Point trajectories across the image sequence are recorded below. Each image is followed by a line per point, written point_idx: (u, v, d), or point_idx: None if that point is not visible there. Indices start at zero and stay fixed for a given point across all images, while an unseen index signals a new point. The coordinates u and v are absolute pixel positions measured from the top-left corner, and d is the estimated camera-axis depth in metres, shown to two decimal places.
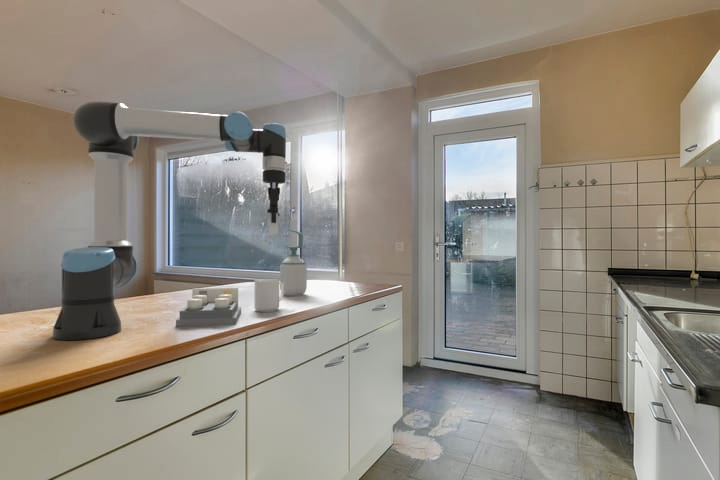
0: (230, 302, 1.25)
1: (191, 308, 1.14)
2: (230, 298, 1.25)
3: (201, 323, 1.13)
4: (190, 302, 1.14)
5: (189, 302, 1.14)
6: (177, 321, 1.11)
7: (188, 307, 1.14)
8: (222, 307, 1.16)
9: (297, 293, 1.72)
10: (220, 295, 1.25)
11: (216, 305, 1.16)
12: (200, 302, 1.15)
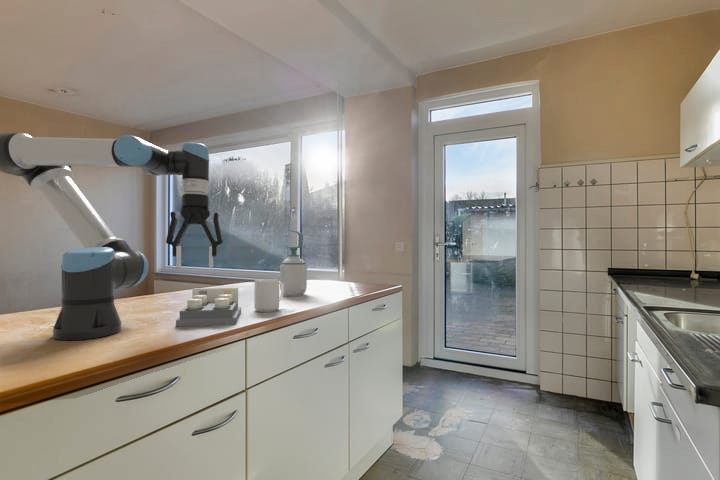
0: (230, 302, 1.25)
1: (191, 308, 1.14)
2: (230, 298, 1.25)
3: (201, 323, 1.13)
4: (190, 302, 1.14)
5: (189, 302, 1.14)
6: (177, 321, 1.11)
7: (188, 307, 1.14)
8: (222, 307, 1.16)
9: (297, 293, 1.72)
10: (220, 295, 1.25)
11: (216, 305, 1.16)
12: (200, 302, 1.15)
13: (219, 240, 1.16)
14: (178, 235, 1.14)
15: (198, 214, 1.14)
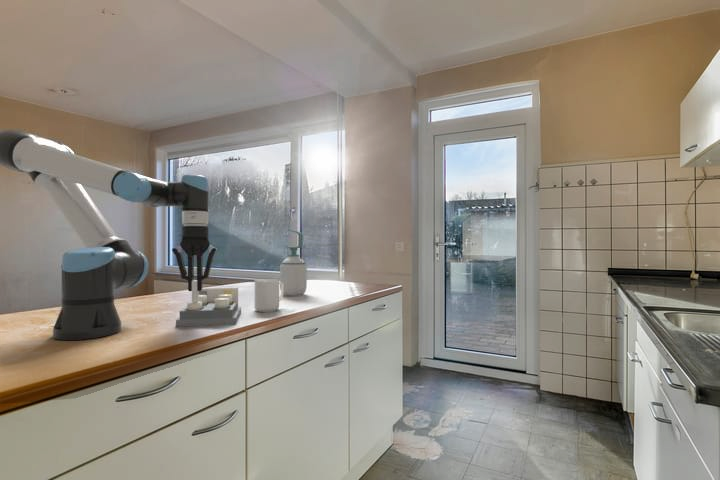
0: (230, 302, 1.25)
1: None
2: (230, 298, 1.25)
3: (201, 323, 1.13)
4: (190, 305, 1.14)
5: (189, 305, 1.14)
6: (177, 321, 1.11)
7: None
8: (222, 307, 1.16)
9: (297, 293, 1.72)
10: (220, 295, 1.25)
11: (216, 305, 1.16)
12: (200, 305, 1.15)
13: (205, 274, 1.15)
14: (189, 269, 1.14)
15: (198, 246, 1.14)
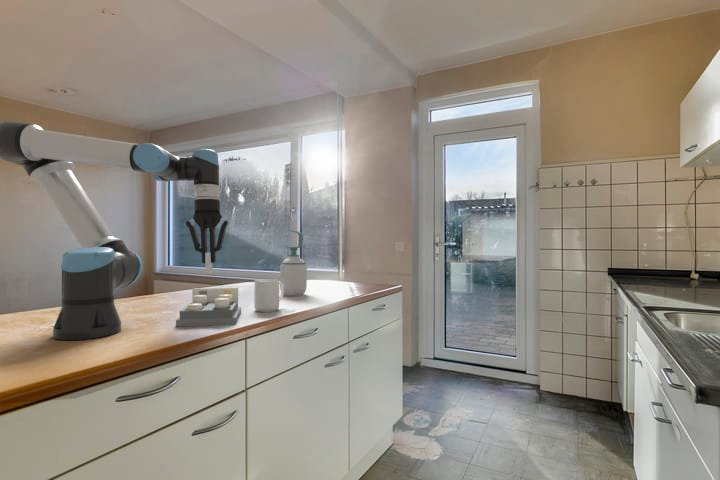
0: (230, 302, 1.25)
1: None
2: (230, 298, 1.25)
3: (201, 323, 1.13)
4: (190, 307, 1.14)
5: (189, 307, 1.14)
6: (177, 321, 1.11)
7: None
8: (222, 307, 1.16)
9: (297, 293, 1.72)
10: (220, 295, 1.25)
11: (216, 305, 1.16)
12: (200, 307, 1.15)
13: (218, 246, 1.18)
14: (202, 242, 1.17)
15: (210, 218, 1.17)
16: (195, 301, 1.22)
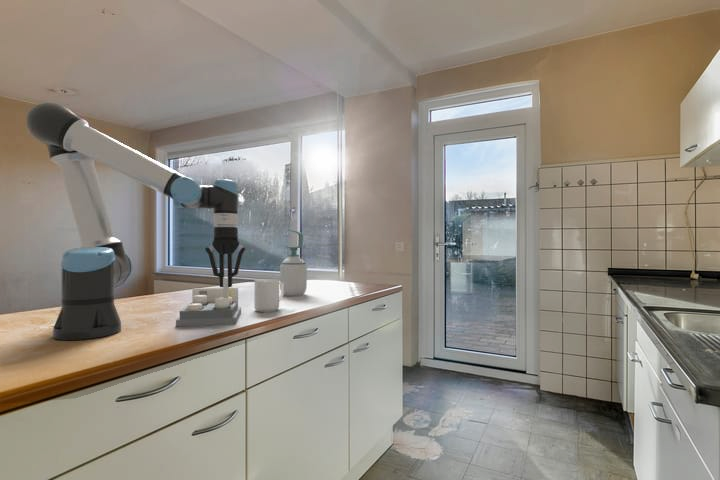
0: (230, 304, 1.25)
1: None
2: (230, 300, 1.25)
3: (201, 323, 1.13)
4: (190, 307, 1.14)
5: (189, 307, 1.14)
6: (177, 321, 1.11)
7: None
8: (222, 307, 1.16)
9: (297, 293, 1.72)
10: (220, 297, 1.25)
11: (216, 305, 1.16)
12: (200, 307, 1.15)
13: (235, 272, 1.25)
14: (220, 267, 1.24)
15: (229, 245, 1.24)
16: (195, 301, 1.22)
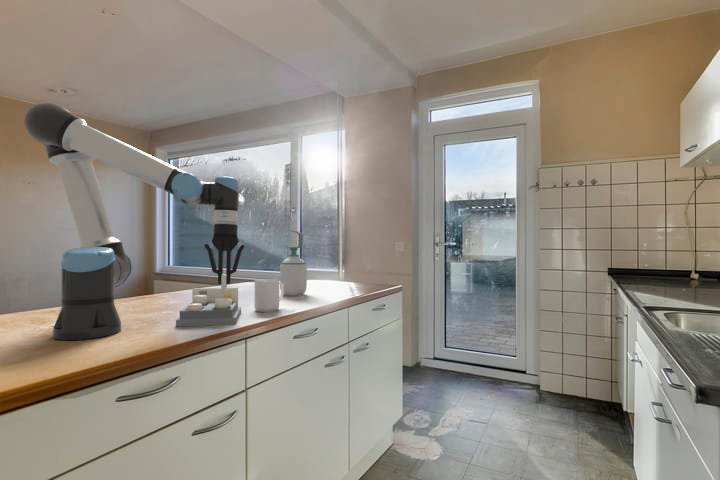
0: None
1: None
2: (230, 302, 1.25)
3: (201, 323, 1.13)
4: (190, 307, 1.14)
5: (189, 307, 1.14)
6: (177, 321, 1.11)
7: None
8: (222, 307, 1.16)
9: (297, 293, 1.72)
10: None
11: (216, 305, 1.16)
12: (200, 307, 1.15)
13: (234, 269, 1.25)
14: (219, 264, 1.24)
15: (228, 242, 1.24)
16: (195, 301, 1.22)
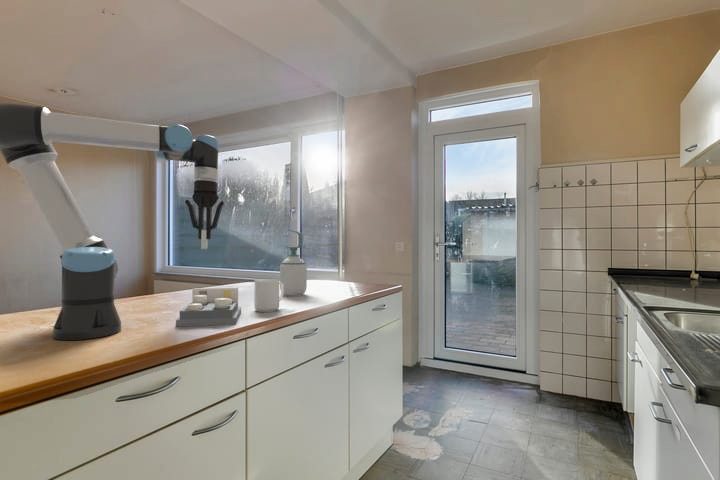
0: None
1: None
2: (230, 302, 1.25)
3: (201, 323, 1.13)
4: (190, 307, 1.14)
5: (189, 307, 1.14)
6: (177, 321, 1.11)
7: None
8: (222, 307, 1.16)
9: (297, 293, 1.72)
10: None
11: (216, 305, 1.16)
12: (200, 307, 1.15)
13: (213, 224, 1.29)
14: (199, 219, 1.29)
15: (208, 198, 1.28)
16: (195, 301, 1.22)
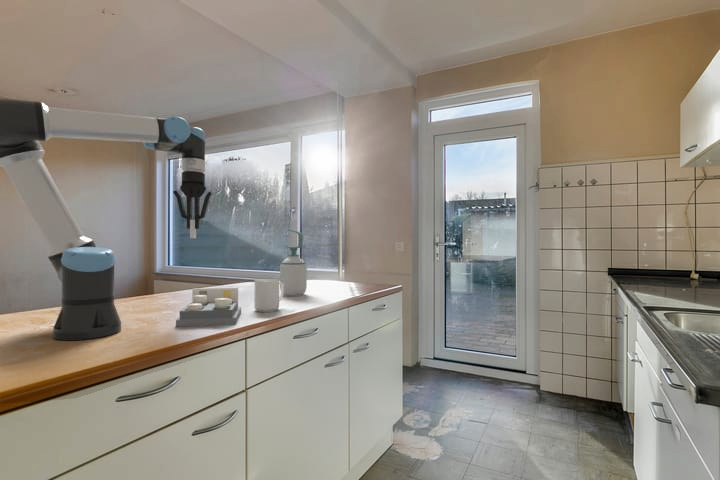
0: None
1: None
2: (230, 302, 1.25)
3: (201, 323, 1.13)
4: (190, 307, 1.14)
5: (189, 307, 1.14)
6: (177, 321, 1.11)
7: None
8: (222, 307, 1.16)
9: (297, 293, 1.72)
10: None
11: (216, 305, 1.16)
12: (200, 307, 1.15)
13: (202, 214, 1.33)
14: (188, 209, 1.32)
15: (196, 189, 1.32)
16: (195, 301, 1.22)
